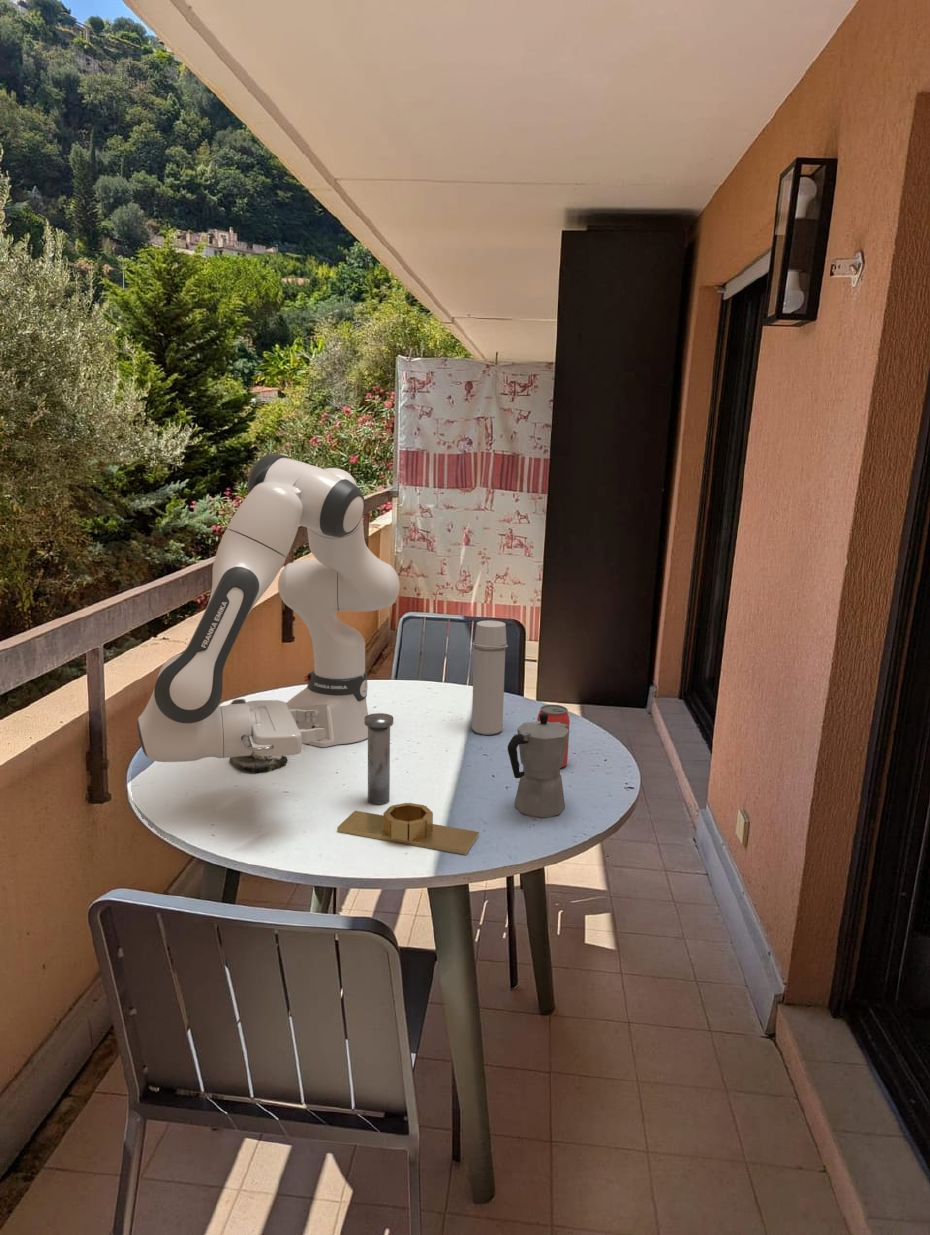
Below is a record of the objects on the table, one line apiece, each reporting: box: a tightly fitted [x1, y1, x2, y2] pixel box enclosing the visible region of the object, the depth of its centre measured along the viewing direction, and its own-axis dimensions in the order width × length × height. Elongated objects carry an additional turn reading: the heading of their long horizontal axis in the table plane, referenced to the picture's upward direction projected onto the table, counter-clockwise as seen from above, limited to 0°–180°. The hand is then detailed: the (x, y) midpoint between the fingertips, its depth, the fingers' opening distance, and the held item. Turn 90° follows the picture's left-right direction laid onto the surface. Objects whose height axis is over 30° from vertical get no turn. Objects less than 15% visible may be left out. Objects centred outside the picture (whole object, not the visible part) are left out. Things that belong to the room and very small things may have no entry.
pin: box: [364, 712, 394, 806], centre depth 158 cm, size 5×5×16 cm
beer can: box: [536, 704, 571, 769], centre depth 178 cm, size 7×7×12 cm
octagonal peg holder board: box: [336, 802, 480, 856], centre depth 147 cm, size 23×8×4 cm, turn 72°
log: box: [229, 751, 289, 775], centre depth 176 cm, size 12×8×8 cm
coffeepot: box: [507, 713, 570, 819], centre depth 156 cm, size 15×9×18 cm, turn 133°
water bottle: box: [471, 620, 509, 736], centre depth 196 cm, size 9×8×25 cm
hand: (320, 723), depth 153 cm, fingers open, 8 cm apart
